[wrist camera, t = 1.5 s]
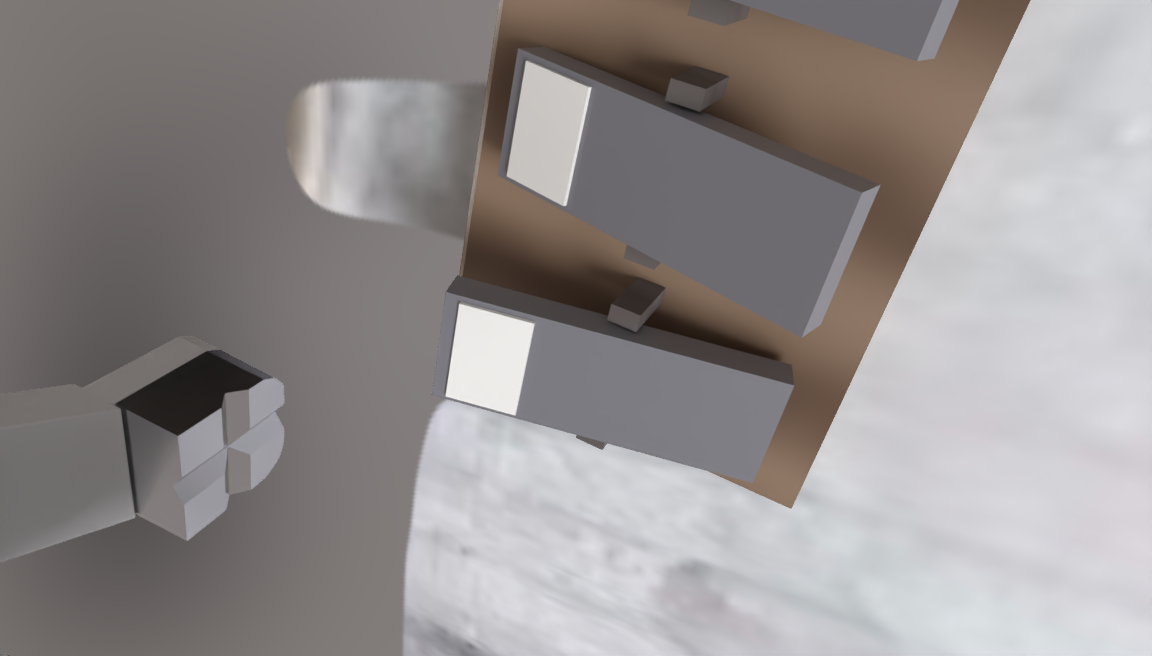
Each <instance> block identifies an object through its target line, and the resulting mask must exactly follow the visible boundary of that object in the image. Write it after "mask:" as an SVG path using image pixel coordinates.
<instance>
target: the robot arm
mask: <svg viewBox="0 0 1152 656" xmlns="http://www.w3.org/2000/svg"><path fill="white" fill-rule="evenodd" d="M282 405H284V385H283V384H282V383H281V382H280V381H278V380H277V379H276V378H274V377H272V376H270V375H268V374H266V373H264V372H263V371H261V370H259V369H257V368H255V367H253V366H251V365H249V364H247V363H245V362H243V361H241V360H239V359H237V358H236V357H233V356H232V355H230V354H228V353H226V352H224V351H222V350H219V349H217V348H215V347H213V346H211V345H209V344H207V343H205V342H203V341H201V340H199V339H197V338H195V337H193V336H184V337H178V338H176V339H174V340H172V341H170V342H168V343H166V344H165V345H162V346H161V347H159V348H157V349H155V350H153V351H151V352H149V353H147V354H145V355H144V356H142V357H140V358H138V359H136V360H134V361H132V362H130V363H129V364H127V365H125V366H123V367H121V368H119V369H117V370H115V371H114V372H112V373H110V374H108V375H106V376H104V377H102V378H100V379H98V380H97V381H95V382H93V383H91V384H89V385H87V386H85V387H83V388H81V387H78V386H76V385H74V384H69V385H63V386H55V387H48V388H40V389H33V390H26V391H19V392H12V393H4V394H0V563H1V562H4V561H7V560H10V559H13V558H16V557H19V556H22V555H25V554H28V553H31V552H34V551H37V550H40V549H43V548H46V547H49V546H52V545H55V544H58V543H61V542H64V541H67V540H70V539H73V538H76V537H79V536H82V535H85V534H88V533H91V532H94V531H97V530H100V529H103V528H106V527H109V526H112V525H115V524H118V523H121V522H124V521H127V520H130V519H133V518H135V514H136V515H138V516H140V517H142V518H144V519H146V520H148V521H150V522H151V523H153V524H155V525H157V526H159V527H161V528H163V529H165V530H167V531H169V532H171V533H172V534H174V535H176V536H179V537H180V538H182V539H184V540H186V541H188V540H189V539H190V538H192V537H193V536H194V535H195V534H196V533H198V532H199V531H200V530H202V529H203V528H204V527H205V526H207V525H208V524H209V523H210V522H212V521H213V520H214V519H215V518H217V517H218V516H219V515H220V514H222V513H223V512H224V511H225V510H226V508H227V503H228V499H229V495H231V494H235V493H239V492H244V491H248V490H251V489H252V488H254V487H255V486H256V485H257V484H258V483H260V482H261V481H262V480H263V479H264V478H265V477H266V476H267V475H268V474H269V472H270V471H271V469H272V468H273V466H274V465H275V464H276V462H277V461H278V459H279V457H280V454H281V450H282V447H283V444H284V428H283V426H282V424H281V422H280V420H279V418H278V416H277V414H276V412H275V411H277V410H278V409H279V408H280V407H281V406H282ZM0 656H9V655H8V654H6V653H4V652H3V651H1V650H0Z"/></svg>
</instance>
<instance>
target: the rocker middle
mask: <svg viewBox="0 0 1152 656" xmlns="http://www.w3.org/2000/svg"><path fill="white" fill-rule="evenodd" d="M665 98H666V96H663V95H661V94H658V93H656V92H654V91H651V90H649V89H646V88H644V87H641V86H639V85H637V84H634V83H632V82H629V81H627V80H624V79H622V78H619V77H617V76H615V75H612V74H610V73H607V72H605V71H602V70H600V69H598V68H595V67H593V66H590V65H588V64H585V63H583V62H580V61H578V60H576V59H573V58H571V57H568V56H566V55H563V54H561V53H559V52H556V51H554V50H551V49H549V48H546V47H534V48H518V52H517V58H516V64H515V71H514V77H513V83H512V89H511V95H510V101H509V108H508V114H507V120H506V126H505V132H504V138H503V145H502V151H501V157H500V163H499V169H498V176H500V177H501V178H503V179H505V180H507V181H509V182H511V183H513V184H515V185H516V186H518V187H520V188H522V189H524V190H526V191H528V192H529V193H531V194H533V195H535V196H537V197H539V198H541V199H543V200H544V201H546V202H548V203H550V204H552V205H554V206H556V207H558V208H559V209H561V210H563V211H565V212H567V213H569V214H571V215H573V216H574V217H576V218H578V219H580V220H582V221H584V222H586V223H588V224H589V225H591V226H593V227H595V228H597V229H599V230H601V231H603V232H604V233H606V234H608V235H610V236H612V237H614V238H616V239H618V240H619V241H621V242H623V243H625V244H627V245H629V246H631V247H633V248H634V249H636V250H638V251H640V252H642V253H644V254H646V255H648V256H649V257H651V258H653V259H655V260H657V261H659V262H661V263H663V264H664V265H666V266H668V267H670V268H672V269H674V270H676V271H678V272H679V273H681V274H683V275H685V276H687V277H689V278H691V279H693V280H694V281H696V282H698V283H700V284H702V285H704V286H706V287H708V288H709V289H711V290H713V291H715V292H717V293H719V294H721V295H723V296H724V297H726V298H728V299H730V300H732V301H734V302H736V303H738V304H739V305H741V306H743V307H745V308H747V309H749V310H751V311H752V312H754V313H756V314H758V315H760V316H762V317H764V318H766V319H767V320H769V321H771V322H773V323H775V324H777V325H779V326H781V327H782V328H784V329H786V330H788V331H790V332H792V333H794V334H796V335H797V336H799V337H801V338H802V337H804V336H805V335H806V334H808V333H809V332H811V331H812V330H814V329H815V328H816V327H818V326H819V325H821V323H822V321H823V318H824V316H825V314H826V311H827V309H828V307H829V304H830V302H831V300H832V297H833V295H834V293H835V290H836V288H837V286H838V283H839V281H840V279H841V276H842V274H843V272H844V269H845V267H846V264H847V262H848V260H849V257H850V255H851V253H852V250H853V248H854V246H855V243H856V241H857V239H858V236H859V234H860V232H861V229H862V227H863V225H864V222H865V220H866V218H867V215H868V213H869V211H870V208H871V206H872V204H873V201H874V199H875V197H876V194H877V192H878V190H879V187H880V184H878V183H875V182H873V181H870V180H868V179H866V178H863V177H861V176H858V175H856V174H853V173H851V172H849V171H846V170H844V169H841V168H839V167H836V166H834V165H832V164H829V163H827V162H824V161H822V160H819V159H817V158H814V157H812V156H810V155H807V154H805V153H802V152H800V151H797V150H795V149H793V148H790V147H788V146H785V145H783V144H780V143H778V142H775V141H773V140H771V139H768V138H766V137H763V136H761V135H758V134H756V133H754V132H751V131H749V130H746V129H744V128H741V127H739V126H736V125H734V124H732V123H729V122H727V121H724V120H722V119H719V118H717V117H715V116H712V115H710V114H707V113H705V112H702V111H700V112H699V111H696V110H693V109H690V108H687V107H684V106H681V105H678V104H675V103H672V102H669V101H665Z"/></svg>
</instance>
